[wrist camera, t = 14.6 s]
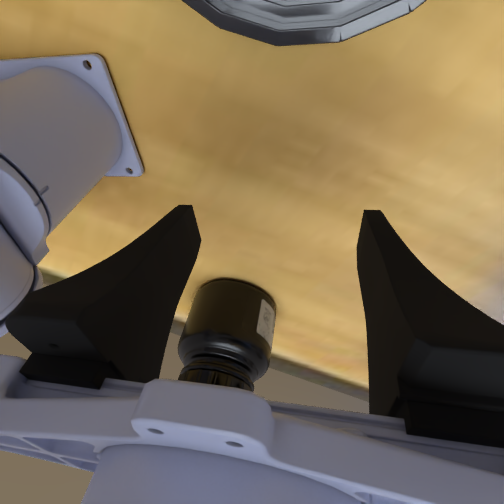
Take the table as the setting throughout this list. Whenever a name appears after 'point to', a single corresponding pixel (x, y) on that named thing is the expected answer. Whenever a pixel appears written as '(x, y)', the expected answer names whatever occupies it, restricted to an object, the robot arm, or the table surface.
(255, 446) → the robot arm
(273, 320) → the ink bottle
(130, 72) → the table surface
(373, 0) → the pan
